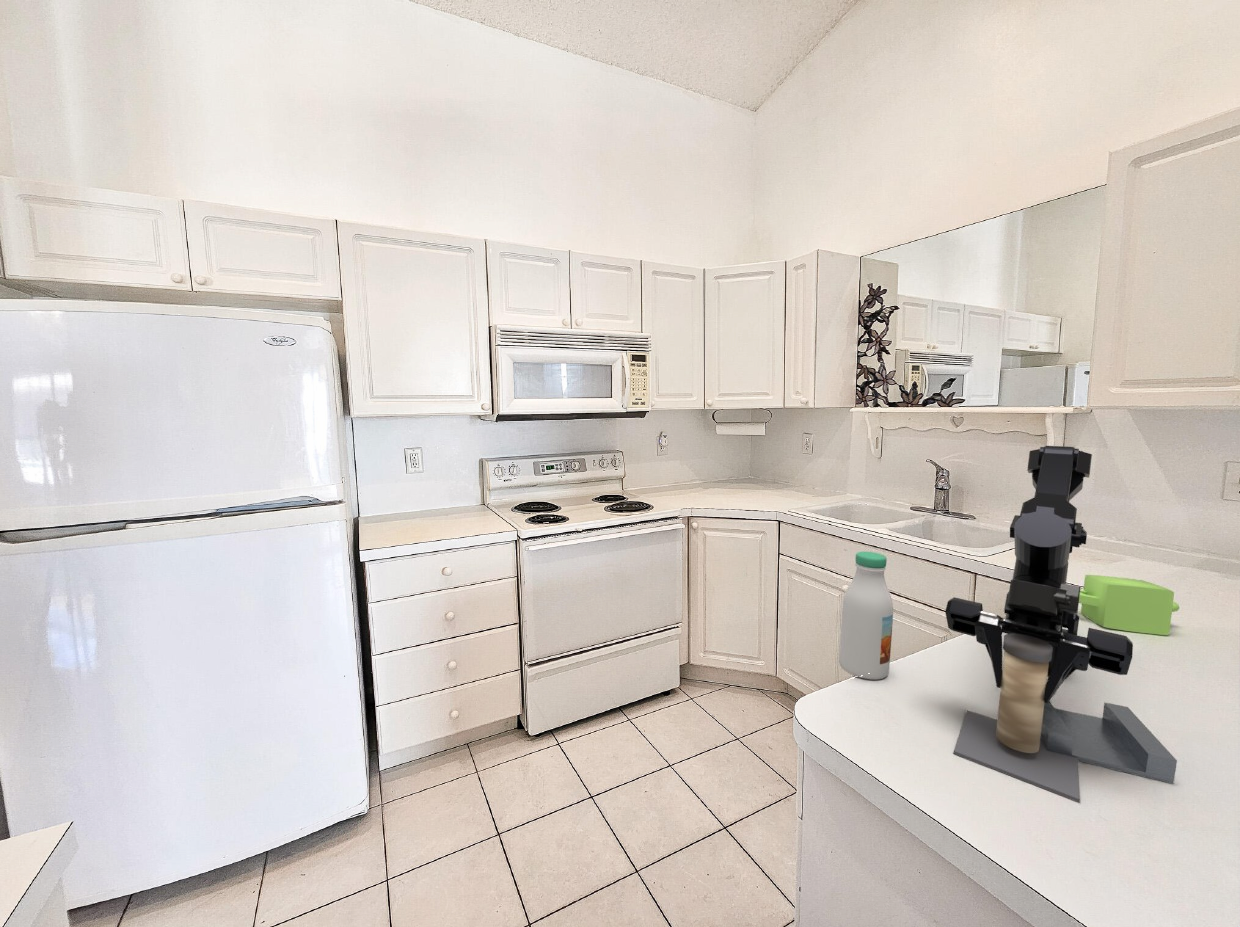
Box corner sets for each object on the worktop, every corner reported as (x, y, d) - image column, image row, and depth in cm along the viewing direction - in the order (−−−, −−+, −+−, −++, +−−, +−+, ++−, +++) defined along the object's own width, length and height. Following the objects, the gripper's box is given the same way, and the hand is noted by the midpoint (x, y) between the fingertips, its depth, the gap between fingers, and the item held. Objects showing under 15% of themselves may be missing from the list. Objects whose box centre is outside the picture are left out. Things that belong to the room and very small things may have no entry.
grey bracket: (1019, 704, 76) (1021, 685, 75) (1125, 726, 71) (1127, 706, 70) (1046, 753, 65) (1048, 731, 65) (1173, 783, 60) (1176, 760, 60)
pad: (953, 753, 65) (953, 750, 65) (966, 712, 74) (966, 709, 74) (1079, 802, 57) (1079, 799, 57) (1077, 749, 66) (1077, 746, 66)
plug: (986, 736, 66) (996, 638, 64) (1004, 725, 68) (1014, 630, 67) (1031, 759, 62) (1043, 654, 60) (1047, 746, 64) (1059, 645, 63)
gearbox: (1160, 622, 108) (1166, 579, 108) (1197, 640, 99) (1204, 593, 98) (1059, 610, 113) (1064, 568, 113) (1085, 626, 104) (1091, 581, 103)
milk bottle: (865, 685, 81) (874, 563, 78) (828, 662, 88) (835, 550, 85) (899, 675, 84) (908, 558, 82) (860, 654, 91) (868, 546, 89)
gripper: (953, 542, 72) (929, 641, 65) (1141, 572, 59) (1135, 700, 52) (959, 582, 78) (937, 676, 71) (1129, 617, 66) (1122, 735, 59)
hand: (1021, 693), depth 63 cm, fingers closed on plug, 4 cm apart
